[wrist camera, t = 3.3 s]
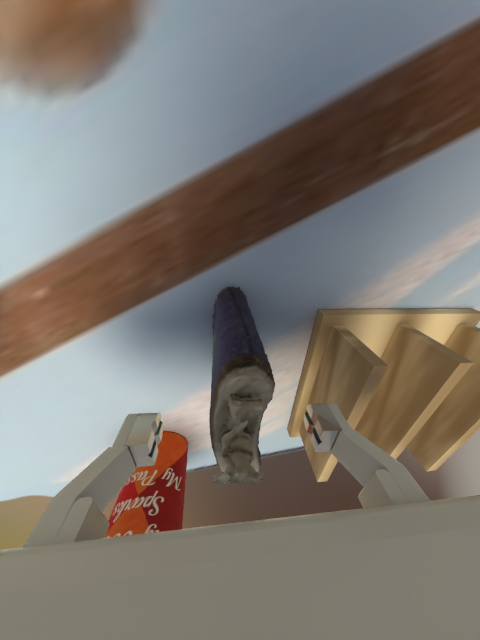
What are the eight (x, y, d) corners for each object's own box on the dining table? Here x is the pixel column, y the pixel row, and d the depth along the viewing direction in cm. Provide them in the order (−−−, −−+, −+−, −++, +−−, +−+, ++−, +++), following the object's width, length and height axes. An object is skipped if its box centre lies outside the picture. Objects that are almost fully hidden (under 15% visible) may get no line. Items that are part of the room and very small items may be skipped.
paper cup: (188, 421, 22) (149, 679, 10) (201, 455, 26) (185, 673, 13) (120, 431, 22) (-9, 709, 10) (143, 464, 25) (72, 695, 13)
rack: (287, 429, 24) (305, 487, 19) (318, 309, 16) (364, 353, 11) (394, 421, 26) (438, 474, 21) (471, 308, 18) (576, 347, 13)
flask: (244, 373, 19) (266, 523, 10) (214, 374, 19) (208, 529, 10) (248, 284, 15) (296, 403, 5) (210, 284, 15) (191, 409, 5)
